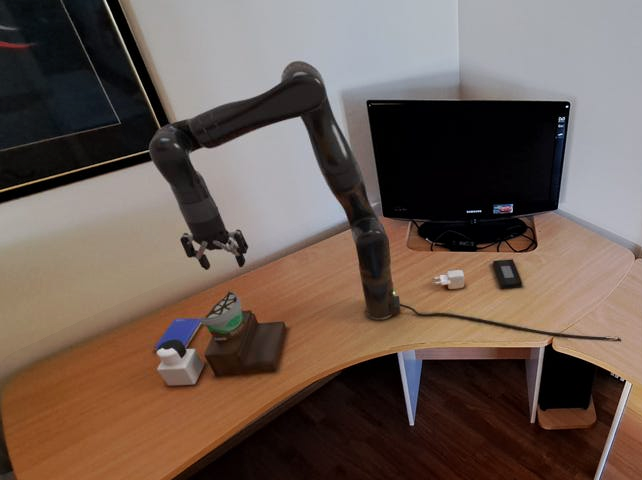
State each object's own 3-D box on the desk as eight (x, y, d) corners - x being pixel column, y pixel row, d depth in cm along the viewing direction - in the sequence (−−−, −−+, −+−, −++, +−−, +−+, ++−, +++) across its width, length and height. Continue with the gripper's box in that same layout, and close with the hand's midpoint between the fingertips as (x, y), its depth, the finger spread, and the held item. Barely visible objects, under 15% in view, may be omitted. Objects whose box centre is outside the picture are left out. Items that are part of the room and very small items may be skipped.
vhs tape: (512, 263, 168) (512, 259, 167) (521, 287, 158) (522, 282, 156) (493, 265, 167) (493, 260, 166) (501, 289, 157) (501, 284, 155)
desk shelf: (286, 329, 138) (279, 308, 132) (275, 371, 126) (266, 350, 120) (232, 333, 136) (222, 312, 130) (215, 376, 124) (203, 355, 118)
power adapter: (433, 292, 154) (432, 279, 150) (431, 284, 157) (430, 271, 154) (464, 289, 156) (465, 276, 152) (462, 280, 159) (462, 267, 156)
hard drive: (174, 318, 138) (153, 347, 129) (201, 318, 138) (182, 347, 129) (176, 321, 139) (156, 351, 130) (203, 321, 139) (184, 351, 130)
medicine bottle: (178, 365, 126) (160, 336, 118) (205, 364, 127) (188, 335, 119) (167, 386, 121) (147, 357, 113) (195, 385, 121) (176, 355, 113)
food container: (233, 349, 120) (220, 322, 113) (212, 345, 120) (198, 319, 114) (259, 318, 129) (248, 292, 122) (239, 315, 130) (228, 289, 123)
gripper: (163, 223, 103) (192, 277, 114) (228, 219, 105) (250, 273, 116) (174, 207, 109) (201, 260, 120) (236, 203, 111) (256, 256, 122)
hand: (225, 266), depth 118 cm, fingers open, 8 cm apart
